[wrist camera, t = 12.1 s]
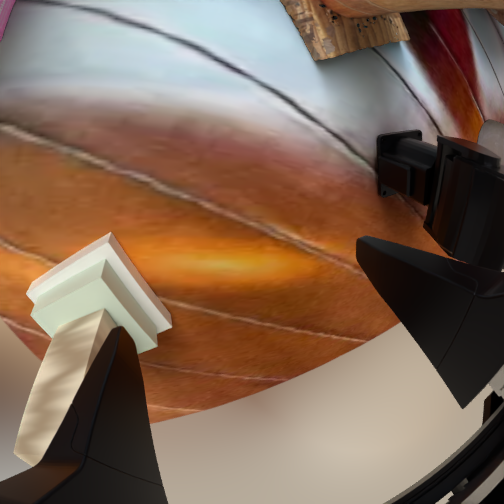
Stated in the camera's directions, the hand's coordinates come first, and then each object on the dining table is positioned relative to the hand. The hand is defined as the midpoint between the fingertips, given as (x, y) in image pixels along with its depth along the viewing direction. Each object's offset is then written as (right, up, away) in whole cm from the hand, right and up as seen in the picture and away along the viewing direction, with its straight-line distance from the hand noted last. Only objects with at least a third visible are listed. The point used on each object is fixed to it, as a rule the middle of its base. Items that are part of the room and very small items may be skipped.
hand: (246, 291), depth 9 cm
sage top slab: (-13, -4, +11) cm, 18 cm away
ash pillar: (-12, -6, +9) cm, 16 cm away
